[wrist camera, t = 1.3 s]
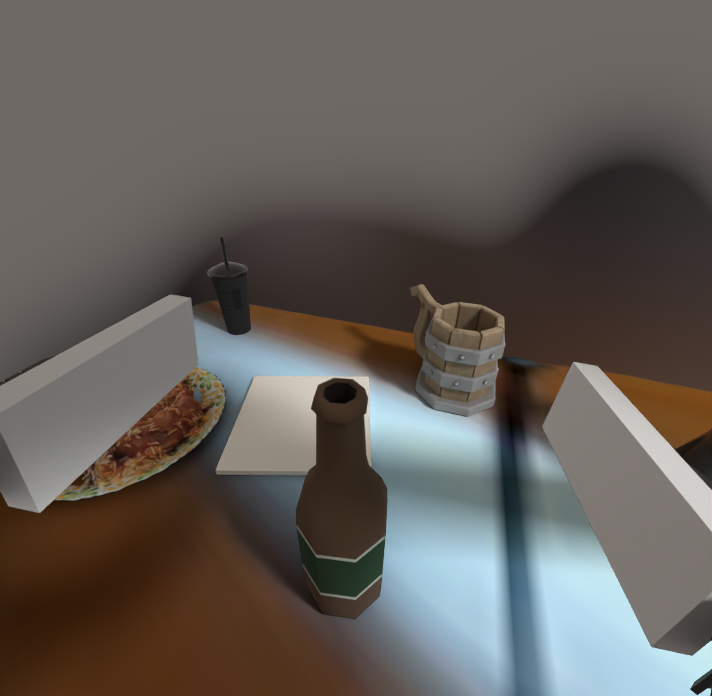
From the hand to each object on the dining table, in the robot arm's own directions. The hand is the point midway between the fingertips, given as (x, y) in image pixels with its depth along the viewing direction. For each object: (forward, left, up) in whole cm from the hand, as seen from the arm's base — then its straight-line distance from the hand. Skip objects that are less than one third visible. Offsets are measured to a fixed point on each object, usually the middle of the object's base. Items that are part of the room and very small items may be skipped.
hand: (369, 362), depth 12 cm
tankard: (-14, -40, -31) cm, 53 cm away
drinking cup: (+27, -57, -31) cm, 70 cm away
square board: (+9, -29, -31) cm, 43 cm away
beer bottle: (+2, -7, -31) cm, 32 cm away
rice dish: (+35, -28, -32) cm, 55 cm away
